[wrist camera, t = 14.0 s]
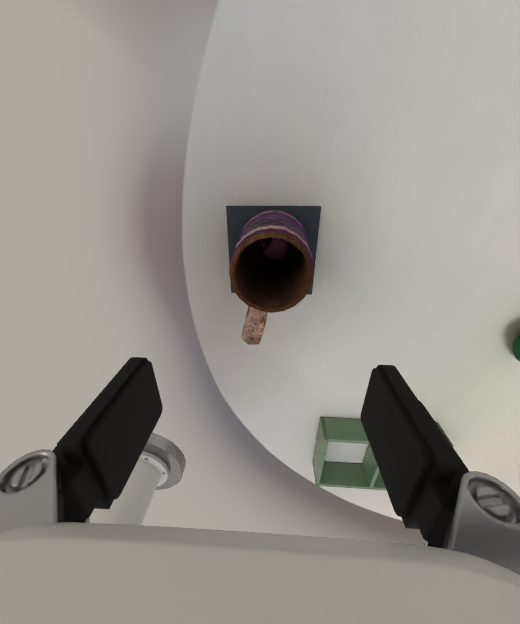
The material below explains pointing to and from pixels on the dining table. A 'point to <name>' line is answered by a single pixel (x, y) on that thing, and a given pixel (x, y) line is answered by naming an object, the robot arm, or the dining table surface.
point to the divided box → (346, 472)
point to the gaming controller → (516, 347)
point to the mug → (270, 268)
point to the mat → (243, 214)
